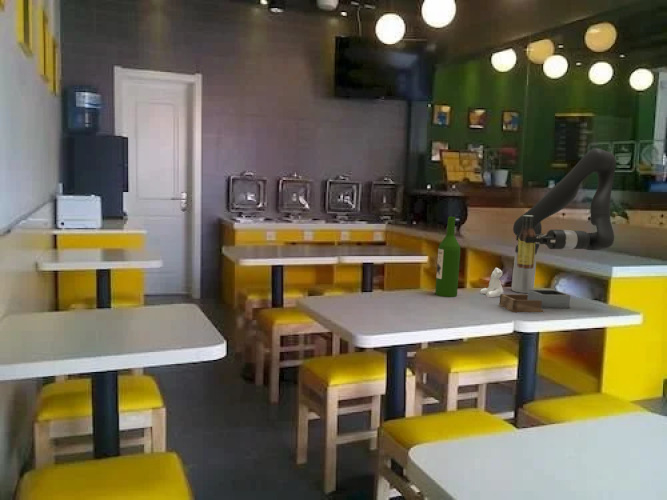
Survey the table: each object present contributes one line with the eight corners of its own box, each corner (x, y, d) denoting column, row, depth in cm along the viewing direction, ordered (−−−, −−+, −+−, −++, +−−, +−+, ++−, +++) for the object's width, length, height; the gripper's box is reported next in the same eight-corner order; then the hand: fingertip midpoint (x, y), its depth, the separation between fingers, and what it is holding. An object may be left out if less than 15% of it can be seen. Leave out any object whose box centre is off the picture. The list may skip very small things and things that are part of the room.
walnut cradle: (499, 305, 241) (500, 294, 240) (527, 305, 243) (528, 294, 243) (513, 312, 229) (514, 300, 229) (543, 312, 232) (544, 300, 231)
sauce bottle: (523, 266, 239) (527, 214, 236) (537, 268, 234) (541, 215, 231) (512, 267, 235) (516, 214, 232) (526, 269, 230) (530, 216, 228)
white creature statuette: (478, 293, 266) (481, 265, 264) (497, 293, 267) (500, 266, 266) (487, 297, 256) (490, 269, 255) (507, 298, 258) (509, 269, 256)
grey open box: (527, 301, 251) (528, 289, 251) (554, 302, 254) (555, 290, 253) (541, 307, 241) (542, 295, 240) (569, 307, 243) (570, 295, 242)
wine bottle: (431, 293, 260) (436, 215, 256) (450, 292, 263) (455, 216, 259) (441, 297, 252) (447, 217, 248) (461, 296, 255) (467, 218, 251)
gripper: (552, 228, 242) (512, 227, 239) (573, 231, 228) (531, 230, 225) (550, 247, 243) (511, 246, 240) (571, 251, 229) (530, 251, 226)
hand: (521, 238), depth 232 cm, fingers closed on sauce bottle, 6 cm apart
